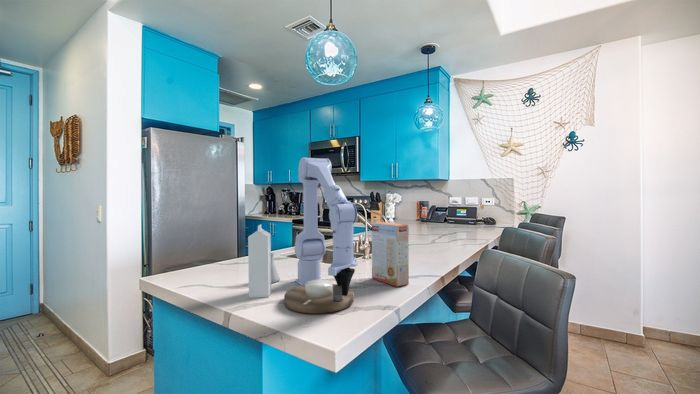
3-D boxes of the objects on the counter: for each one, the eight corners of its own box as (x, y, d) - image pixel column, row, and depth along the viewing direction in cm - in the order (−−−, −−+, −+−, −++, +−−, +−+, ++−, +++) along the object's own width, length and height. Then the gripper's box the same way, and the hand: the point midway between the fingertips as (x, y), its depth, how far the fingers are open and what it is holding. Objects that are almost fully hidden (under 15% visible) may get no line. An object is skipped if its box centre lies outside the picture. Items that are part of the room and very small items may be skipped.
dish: (311, 288, 98) (311, 278, 98) (336, 290, 96) (336, 280, 95) (300, 296, 90) (300, 286, 90) (327, 299, 88) (326, 288, 88)
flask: (274, 284, 111) (274, 256, 111) (255, 283, 112) (255, 255, 112) (283, 278, 118) (282, 252, 118) (265, 278, 120) (264, 251, 119)
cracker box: (409, 284, 109) (409, 224, 109) (396, 287, 106) (396, 225, 106) (384, 275, 121) (383, 221, 121) (371, 278, 118) (371, 222, 117)
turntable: (303, 287, 106) (303, 269, 105) (361, 292, 99) (361, 273, 99) (270, 308, 87) (270, 286, 86) (339, 317, 80) (339, 293, 80)
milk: (248, 298, 97) (247, 226, 96) (252, 292, 103) (251, 224, 102) (269, 297, 97) (267, 225, 97) (271, 291, 103) (270, 223, 103)
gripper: (345, 252, 80) (345, 305, 80) (365, 243, 93) (366, 289, 93) (320, 250, 83) (321, 302, 83) (344, 241, 96) (344, 286, 96)
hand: (343, 295), depth 88 cm, fingers closed
